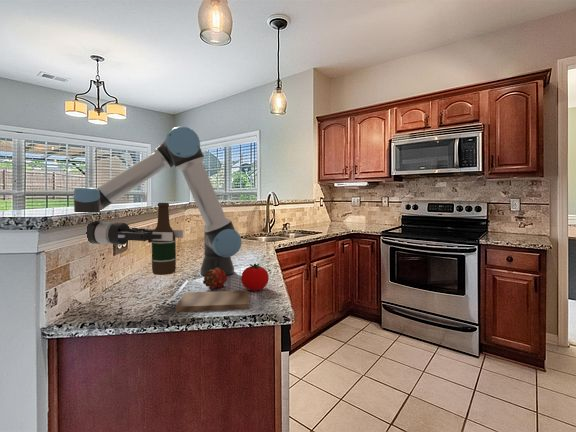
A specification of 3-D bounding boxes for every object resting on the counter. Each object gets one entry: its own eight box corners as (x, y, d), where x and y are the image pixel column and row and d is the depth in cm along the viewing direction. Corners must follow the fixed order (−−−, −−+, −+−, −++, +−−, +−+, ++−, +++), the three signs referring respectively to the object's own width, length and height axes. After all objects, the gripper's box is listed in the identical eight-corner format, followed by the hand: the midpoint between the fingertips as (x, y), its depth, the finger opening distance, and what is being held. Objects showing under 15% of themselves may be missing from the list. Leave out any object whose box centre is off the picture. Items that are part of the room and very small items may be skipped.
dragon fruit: (208, 297, 111) (216, 292, 123) (227, 283, 111) (234, 279, 123) (195, 278, 111) (205, 274, 123) (214, 264, 112) (222, 262, 124)
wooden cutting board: (176, 311, 92) (176, 306, 92) (184, 296, 106) (184, 292, 106) (248, 308, 96) (248, 303, 96) (247, 294, 109) (247, 290, 109)
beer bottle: (173, 275, 101) (172, 203, 99) (148, 275, 100) (147, 202, 98) (178, 269, 108) (177, 202, 107) (155, 270, 107) (154, 202, 106)
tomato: (235, 291, 112) (235, 265, 112) (250, 284, 122) (250, 260, 121) (260, 296, 108) (260, 268, 108) (273, 288, 118) (273, 262, 117)
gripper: (131, 240, 115) (189, 241, 113) (93, 249, 95) (162, 251, 93) (131, 220, 115) (189, 221, 113) (92, 225, 95) (162, 227, 93)
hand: (177, 235), depth 103 cm, fingers closed on beer bottle, 7 cm apart
